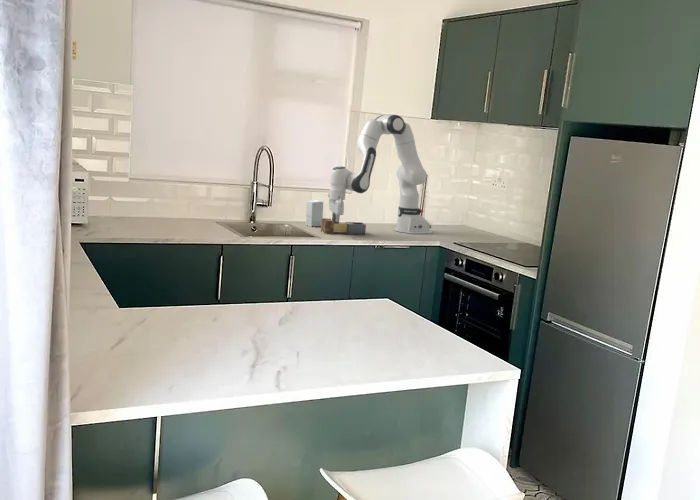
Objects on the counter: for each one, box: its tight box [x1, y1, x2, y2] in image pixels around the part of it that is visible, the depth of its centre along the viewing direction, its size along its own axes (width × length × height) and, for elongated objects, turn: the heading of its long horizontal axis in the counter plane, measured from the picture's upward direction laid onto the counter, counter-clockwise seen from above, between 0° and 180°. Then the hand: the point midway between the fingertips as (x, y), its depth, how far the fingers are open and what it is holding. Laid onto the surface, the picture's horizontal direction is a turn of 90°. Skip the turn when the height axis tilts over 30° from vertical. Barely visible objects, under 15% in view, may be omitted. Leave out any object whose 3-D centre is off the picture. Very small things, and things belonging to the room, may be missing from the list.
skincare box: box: [305, 199, 324, 227], centre depth 413 cm, size 8×6×15 cm
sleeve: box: [344, 221, 367, 236], centre depth 398 cm, size 10×8×6 cm
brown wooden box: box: [320, 217, 334, 234], centre depth 394 cm, size 5×9×7 cm, turn 15°
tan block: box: [331, 214, 353, 233], centre depth 395 cm, size 14×4×9 cm, turn 105°
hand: (335, 220), depth 394 cm, fingers closed on tan block, 4 cm apart
